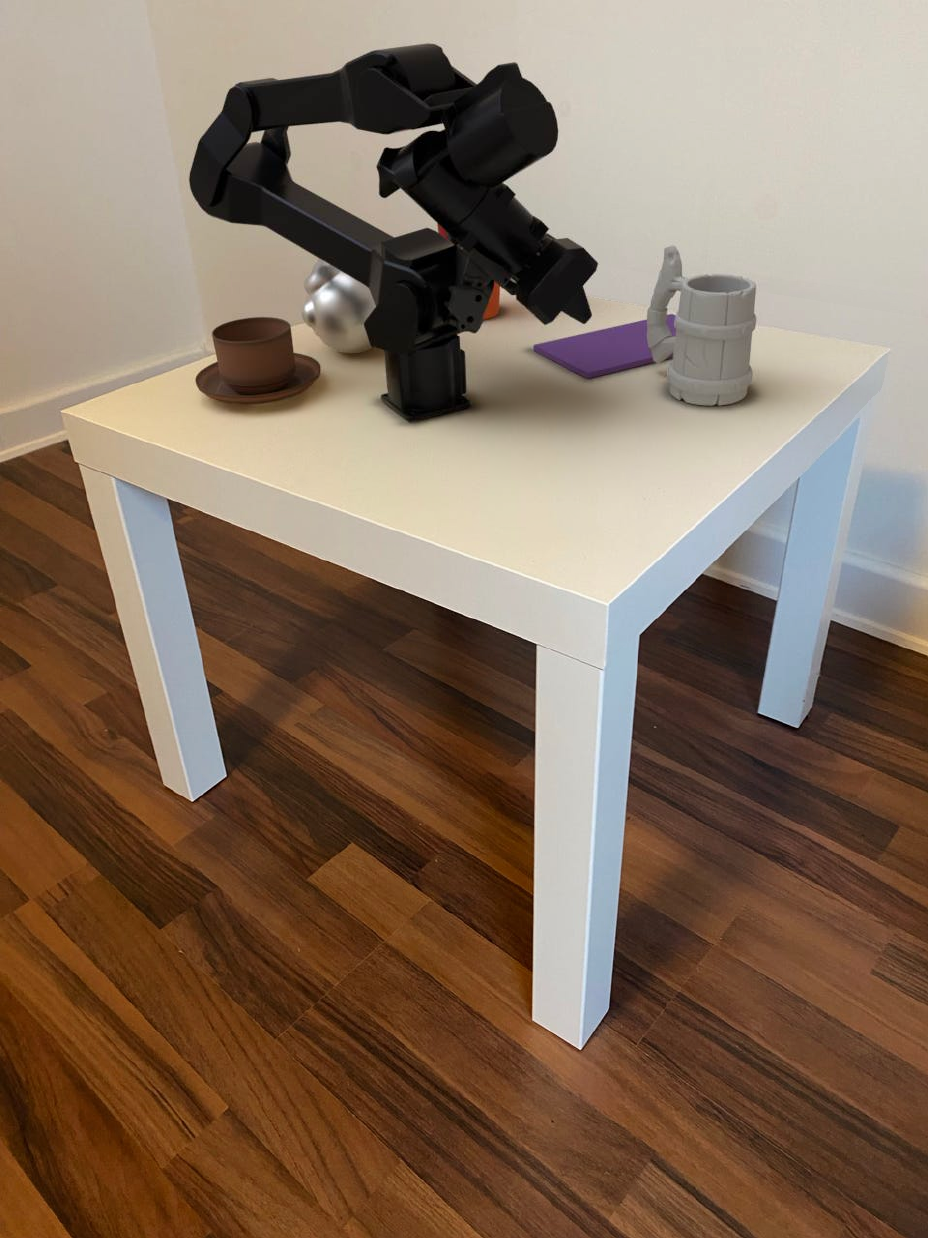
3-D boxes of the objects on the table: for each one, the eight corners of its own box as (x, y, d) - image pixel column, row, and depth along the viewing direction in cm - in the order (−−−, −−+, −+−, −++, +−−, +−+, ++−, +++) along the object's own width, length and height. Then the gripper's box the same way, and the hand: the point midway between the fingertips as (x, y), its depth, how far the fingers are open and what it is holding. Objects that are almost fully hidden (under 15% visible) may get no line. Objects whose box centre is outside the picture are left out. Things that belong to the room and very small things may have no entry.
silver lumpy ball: (345, 331, 110) (335, 238, 104) (412, 345, 105) (405, 248, 99) (289, 356, 104) (275, 258, 98) (357, 371, 99) (346, 270, 93)
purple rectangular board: (587, 378, 95) (587, 372, 94) (533, 350, 102) (533, 344, 102) (732, 343, 101) (732, 337, 101) (671, 318, 109) (671, 313, 108)
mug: (711, 414, 86) (726, 275, 79) (617, 379, 94) (624, 249, 87) (768, 392, 90) (787, 257, 83) (673, 360, 98) (683, 234, 91)
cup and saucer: (178, 390, 96) (165, 328, 93) (285, 361, 102) (276, 302, 99) (233, 426, 88) (221, 360, 85) (346, 392, 94) (339, 328, 91)
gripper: (378, 252, 89) (495, 355, 97) (432, 312, 74) (564, 426, 83) (458, 150, 86) (571, 265, 95) (530, 191, 71) (656, 323, 80)
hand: (587, 319), depth 88 cm, fingers closed
